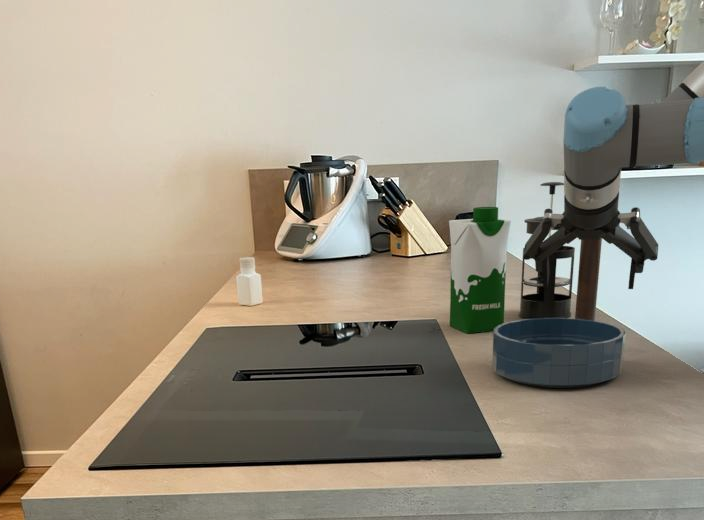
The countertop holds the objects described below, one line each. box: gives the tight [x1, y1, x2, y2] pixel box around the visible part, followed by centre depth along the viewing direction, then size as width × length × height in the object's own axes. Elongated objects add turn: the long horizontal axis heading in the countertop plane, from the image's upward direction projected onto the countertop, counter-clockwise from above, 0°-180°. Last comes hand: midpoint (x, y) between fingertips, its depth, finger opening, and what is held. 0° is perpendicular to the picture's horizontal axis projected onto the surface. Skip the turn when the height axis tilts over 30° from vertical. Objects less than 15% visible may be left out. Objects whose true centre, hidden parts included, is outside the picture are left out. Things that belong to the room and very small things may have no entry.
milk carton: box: [448, 206, 512, 334], centre depth 133 cm, size 9×9×20 cm
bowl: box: [491, 317, 627, 389], centre depth 108 cm, size 17×17×6 cm
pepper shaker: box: [235, 256, 264, 307], centre depth 164 cm, size 4×4×10 cm
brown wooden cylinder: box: [574, 238, 603, 321], centre depth 129 cm, size 5×5×16 cm
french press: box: [518, 181, 576, 319], centre depth 140 cm, size 12×9×23 cm
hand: (588, 281), depth 131 cm, fingers open, 13 cm apart
